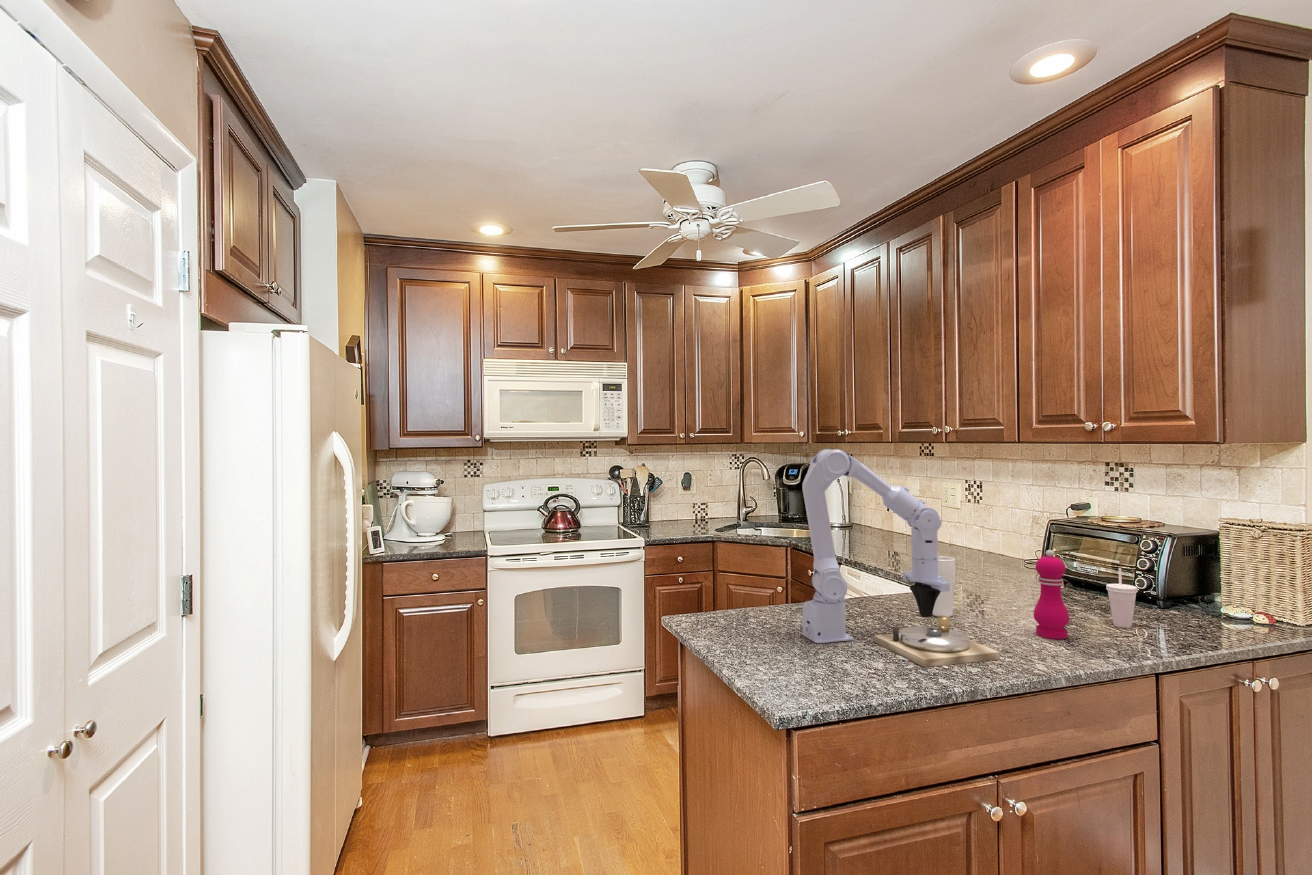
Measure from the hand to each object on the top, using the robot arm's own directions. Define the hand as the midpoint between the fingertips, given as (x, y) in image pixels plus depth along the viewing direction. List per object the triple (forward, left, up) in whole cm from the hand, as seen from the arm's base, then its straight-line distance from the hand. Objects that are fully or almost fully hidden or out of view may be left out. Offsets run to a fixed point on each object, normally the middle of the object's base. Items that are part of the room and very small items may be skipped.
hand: (926, 616), depth 155 cm
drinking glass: (+16, +16, -5) cm, 23 cm away
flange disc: (-5, -9, -3) cm, 11 cm away
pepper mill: (+28, -7, -5) cm, 30 cm away
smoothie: (+51, -5, -5) cm, 52 cm away
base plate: (-5, -9, -5) cm, 11 cm away
